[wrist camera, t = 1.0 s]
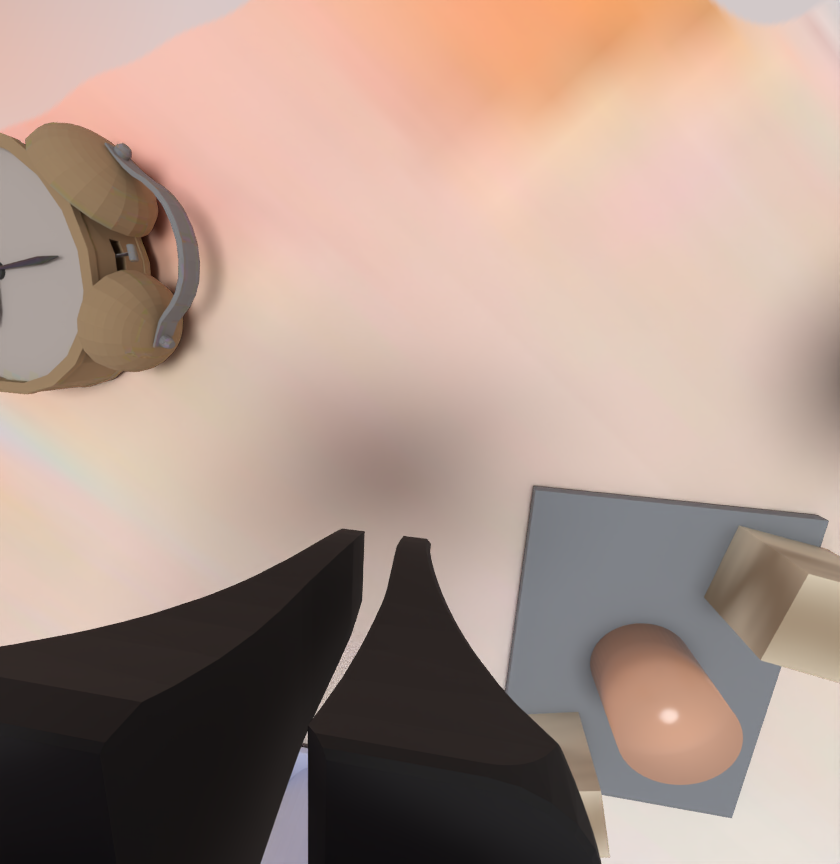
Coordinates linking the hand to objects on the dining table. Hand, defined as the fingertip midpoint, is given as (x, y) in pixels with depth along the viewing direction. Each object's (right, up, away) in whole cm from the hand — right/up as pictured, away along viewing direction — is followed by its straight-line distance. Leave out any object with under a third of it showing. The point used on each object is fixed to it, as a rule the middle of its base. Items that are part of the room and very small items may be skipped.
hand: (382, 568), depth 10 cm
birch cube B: (+17, -3, +9) cm, 20 cm away
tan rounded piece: (+13, -9, +11) cm, 18 cm away
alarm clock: (-16, +12, +11) cm, 22 cm away
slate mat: (+13, -8, +11) cm, 19 cm away
